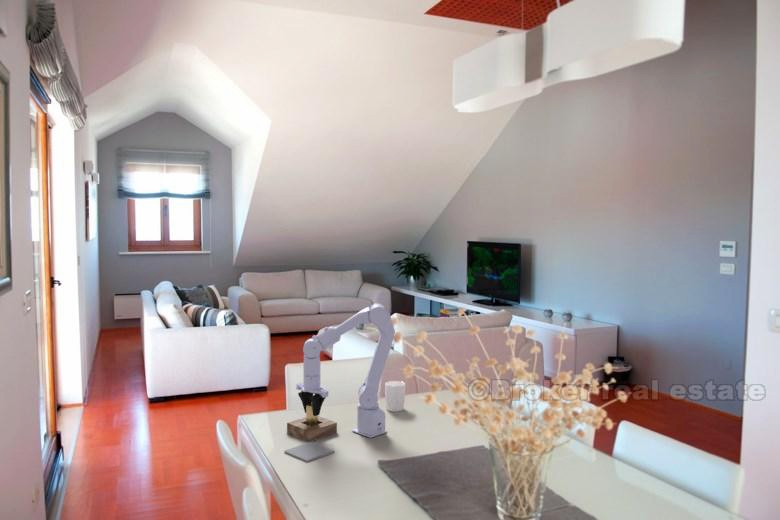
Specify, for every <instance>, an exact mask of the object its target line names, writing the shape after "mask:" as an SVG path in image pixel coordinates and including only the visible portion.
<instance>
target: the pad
mask: <svg viewBox="0 0 780 520" xmlns="http://www.w3.org/2000/svg"><path fill="white" fill-rule="evenodd" d="M283 452H284V453H285V454H286V455H289V456H291V457H294V458H295V459H298V460H301V461H303V462H306V463H309V462H312V461H315V460H317V459H319V458H323V457H325V456H328V455H330V454H331V455H332V454H333V452H334V453H335V450H334V449H332V448H330V447H328V446H327V447H326V446H324V445H321V444H320V443H316V442H314V441H310V442H309V441H308V442H306V443H303V444H300V445H297V446H294V447H291V448H288V449H286V450H284V451H283Z"/></svg>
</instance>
